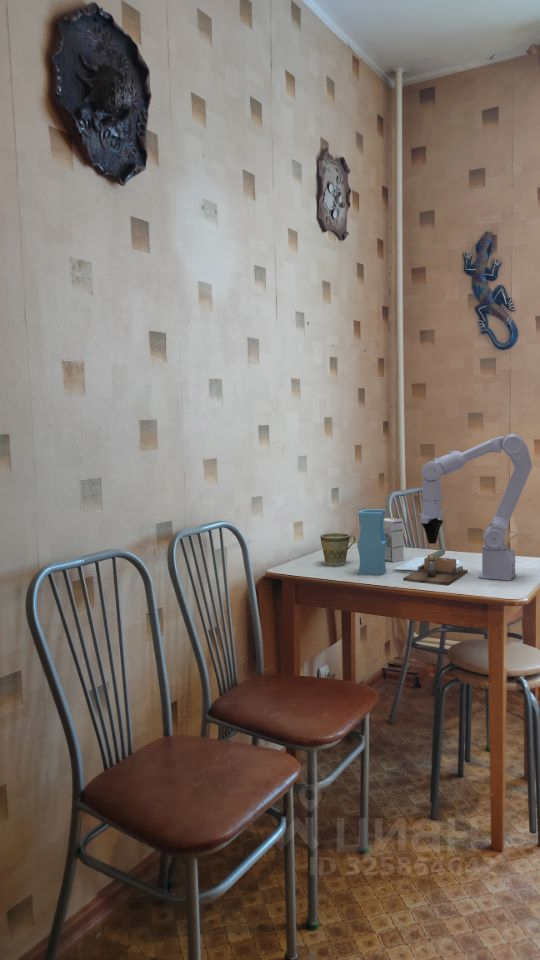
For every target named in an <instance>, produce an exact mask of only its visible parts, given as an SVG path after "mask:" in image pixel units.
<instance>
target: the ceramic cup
mask: <svg viewBox="0 0 540 960" xmlns="http://www.w3.org/2000/svg"><path fill="white" fill-rule="evenodd" d="M319 537H320V543H321V547H322V551H323V556H324V562H325V565H326V566H328V567H329V566H330V567H340V566H344V565H346V563H347V555H348V550H350V548H351V546H352V545H354V544H355V542H356V536H355V535H353V534H351V535H350V534H348V533H343V532H341V533H340V532H329V533H328V532H327V533H322V534H320V535H319ZM351 538H353V542H352V543H351V544H350V539H351Z"/></svg>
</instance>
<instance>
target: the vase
mask: <svg viewBox="0 0 540 960" xmlns="http://www.w3.org/2000/svg"><path fill="white" fill-rule="evenodd" d="M386 512H387V509H376V508H375V509H371V508H370V509H369V508H368V509H367V508H364V509H360V510H359V511H358V512H357V514H358V519H359V525H360V526H359V527H360V529H359V530H360V531H359V537H358V540H357V547H356V548H357V550H358V555H359V566H358V567H359V568H358V572H357V575H359V576H361V575H363V576H379V577H380V576H384V575H385V573H386V572H387V567H386V561H385V550H386V545H387V540H386V537H385V534H384V528H383V523H384V519H385V516H386Z"/></svg>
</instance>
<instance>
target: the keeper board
mask: <svg viewBox="0 0 540 960" xmlns="http://www.w3.org/2000/svg"><path fill="white" fill-rule="evenodd" d="M468 572H469V571H468V569H464V566H463V565H462V566H461V565H459V566H458V567H456V569H455V570H453V572H447V571H437V570H436V561H428V570H426V569H424V563H422V564H421V565H419V566H417V570H416V571H414V572H412V573H410V574H408V575H406V576H404V577H403V578H402V580H403V581H404V582H412V583H423V584H424V583H425V584H433V585H444V586H449V585H451V584H452V583H454V582H456V581H457V580H458V579H460V578H462V577H463V576H465V575H466V574H468Z"/></svg>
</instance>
